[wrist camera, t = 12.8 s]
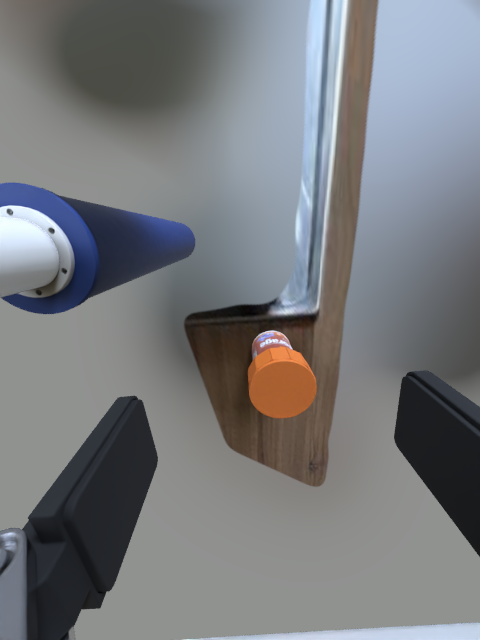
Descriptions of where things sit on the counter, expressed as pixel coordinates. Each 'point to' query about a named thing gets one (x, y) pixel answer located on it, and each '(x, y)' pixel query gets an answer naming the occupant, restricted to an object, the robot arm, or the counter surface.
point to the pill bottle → (269, 342)
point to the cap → (281, 383)
